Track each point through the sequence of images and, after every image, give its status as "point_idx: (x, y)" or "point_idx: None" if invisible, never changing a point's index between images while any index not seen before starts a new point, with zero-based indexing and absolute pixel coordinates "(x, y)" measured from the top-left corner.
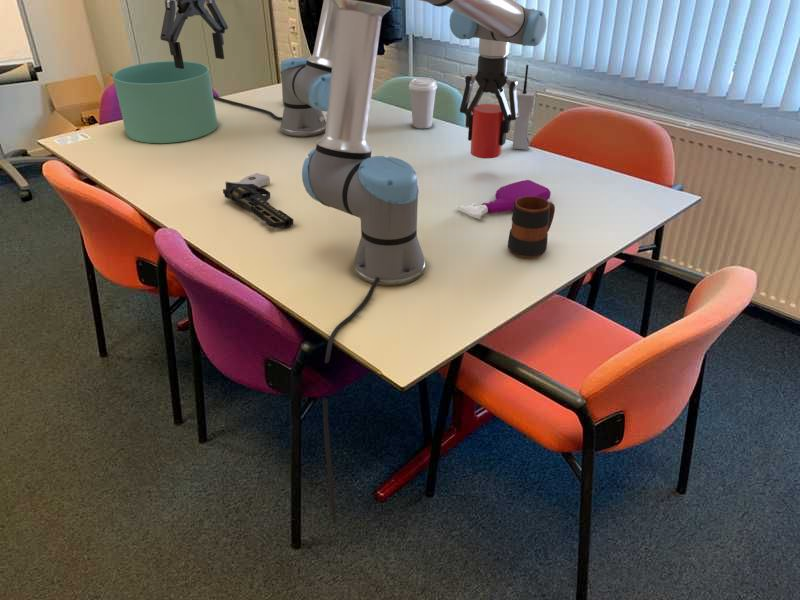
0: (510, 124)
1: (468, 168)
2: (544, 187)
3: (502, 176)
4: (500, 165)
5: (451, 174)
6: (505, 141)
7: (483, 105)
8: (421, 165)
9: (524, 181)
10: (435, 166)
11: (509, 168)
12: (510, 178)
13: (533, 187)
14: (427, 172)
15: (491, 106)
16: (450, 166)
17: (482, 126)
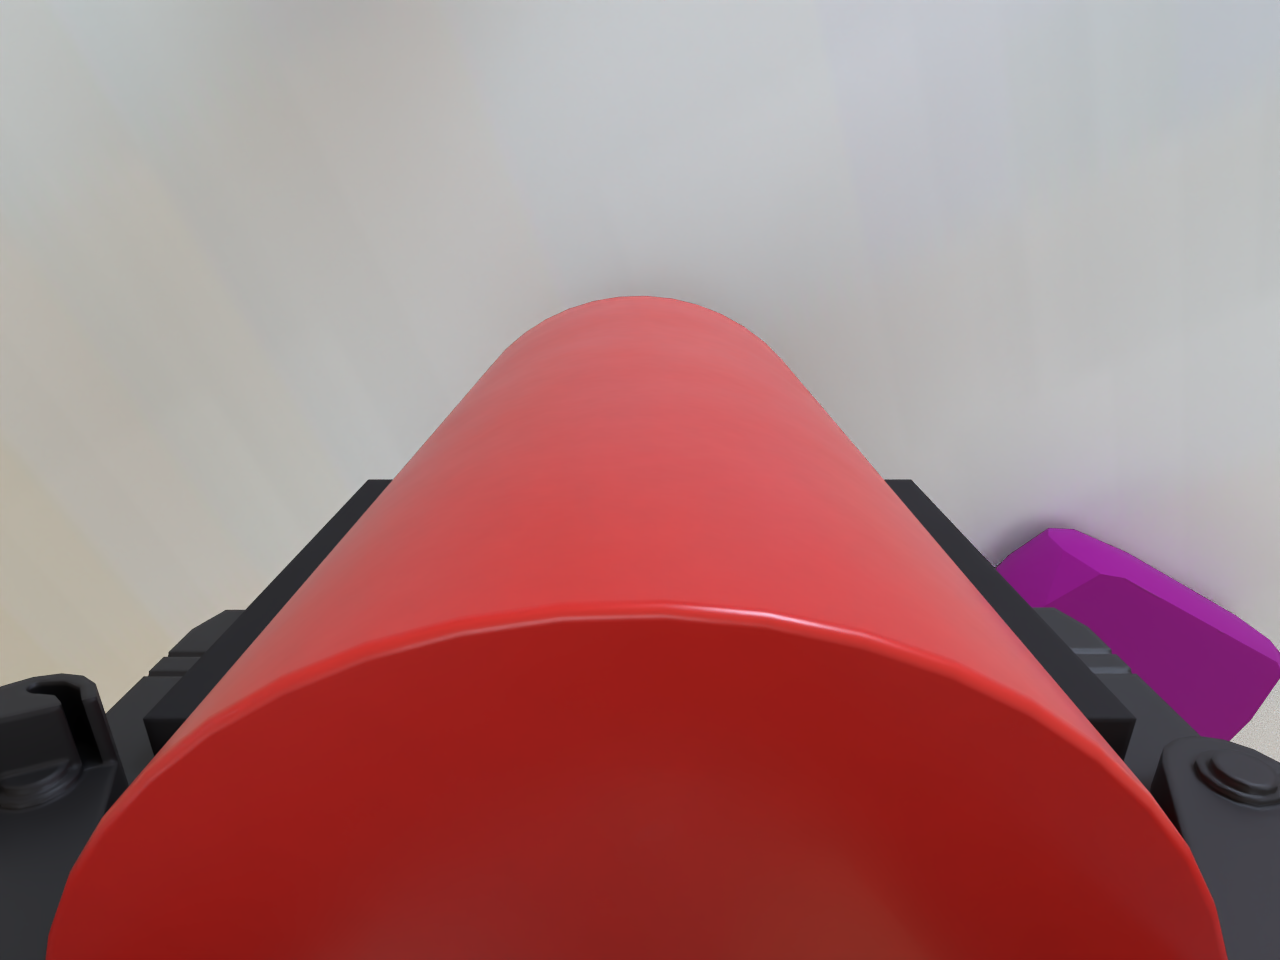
0: (1162, 711)
1: (434, 279)
2: (1247, 657)
3: (792, 325)
4: (693, 34)
5: (374, 477)
6: (916, 486)
7: (290, 938)
8: (33, 405)
9: (1072, 613)
10: (150, 371)
11: (806, 80)
12: (871, 338)
13: (1155, 687)
14: (182, 523)
15: (641, 933)
16: (263, 309)
17: None
